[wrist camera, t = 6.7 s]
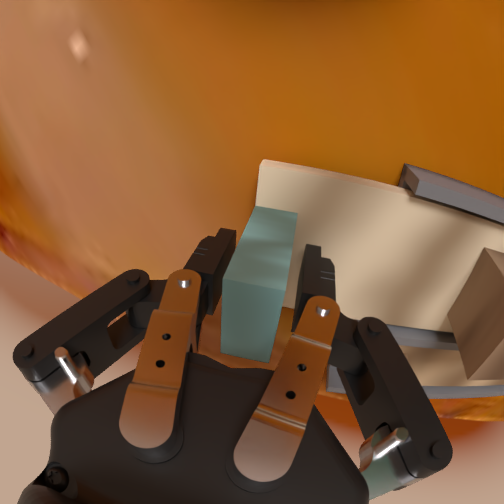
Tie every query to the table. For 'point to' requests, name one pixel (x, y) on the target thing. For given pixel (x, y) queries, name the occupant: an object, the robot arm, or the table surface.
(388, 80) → the table surface
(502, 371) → the walnut cube
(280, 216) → the strip
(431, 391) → the tray
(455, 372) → the strip
